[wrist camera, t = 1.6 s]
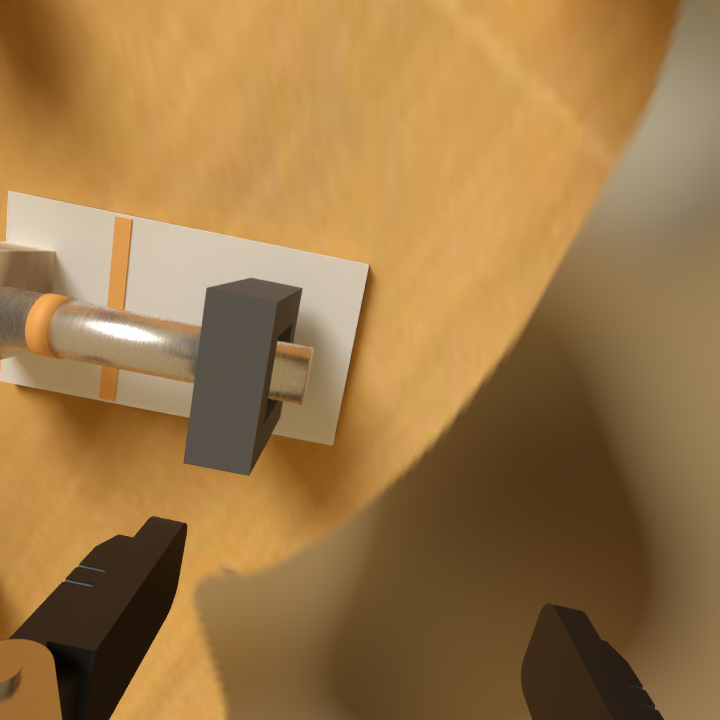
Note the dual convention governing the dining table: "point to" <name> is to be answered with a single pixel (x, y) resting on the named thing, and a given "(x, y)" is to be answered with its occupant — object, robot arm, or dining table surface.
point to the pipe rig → (160, 311)
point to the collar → (238, 372)
